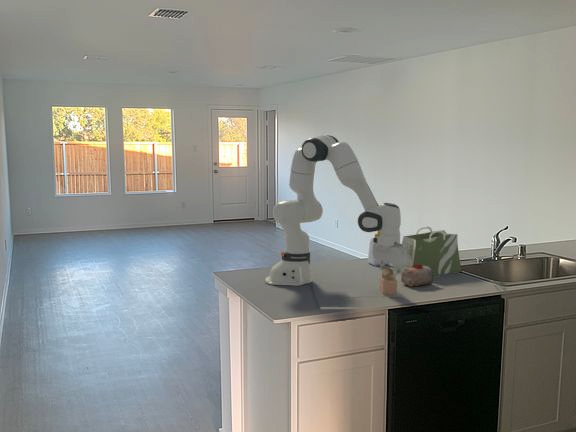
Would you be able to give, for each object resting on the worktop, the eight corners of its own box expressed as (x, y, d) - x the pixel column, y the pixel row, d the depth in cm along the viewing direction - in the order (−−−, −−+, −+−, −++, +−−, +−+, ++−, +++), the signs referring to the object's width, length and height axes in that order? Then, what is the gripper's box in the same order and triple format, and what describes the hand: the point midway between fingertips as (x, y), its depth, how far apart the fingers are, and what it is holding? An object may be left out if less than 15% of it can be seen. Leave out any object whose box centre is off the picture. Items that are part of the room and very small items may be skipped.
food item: (410, 288, 254) (411, 267, 252) (399, 284, 261) (400, 263, 260) (433, 285, 260) (434, 264, 258) (422, 281, 267) (423, 261, 266)
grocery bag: (413, 278, 274) (415, 231, 271) (396, 272, 286) (397, 228, 283) (462, 272, 288) (464, 227, 285) (444, 266, 300) (445, 224, 297)
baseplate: (349, 299, 234) (349, 297, 234) (344, 290, 248) (344, 288, 248) (405, 298, 235) (406, 296, 235) (397, 290, 249) (398, 288, 249)
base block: (382, 294, 238) (383, 280, 238) (380, 290, 244) (380, 277, 244) (396, 294, 239) (397, 280, 238) (393, 290, 245) (393, 277, 244)
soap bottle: (359, 263, 308) (360, 223, 305) (382, 262, 312) (383, 222, 309) (367, 266, 299) (367, 226, 296) (390, 265, 303) (391, 225, 300)
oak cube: (385, 280, 238) (386, 270, 238) (381, 278, 243) (382, 267, 242) (395, 280, 239) (395, 269, 239) (391, 277, 244) (391, 267, 243)
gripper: (410, 244, 231) (409, 276, 233) (382, 236, 249) (381, 267, 251) (398, 245, 228) (397, 278, 230) (370, 237, 246) (369, 268, 248)
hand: (388, 272), depth 241 cm, fingers open, 7 cm apart
